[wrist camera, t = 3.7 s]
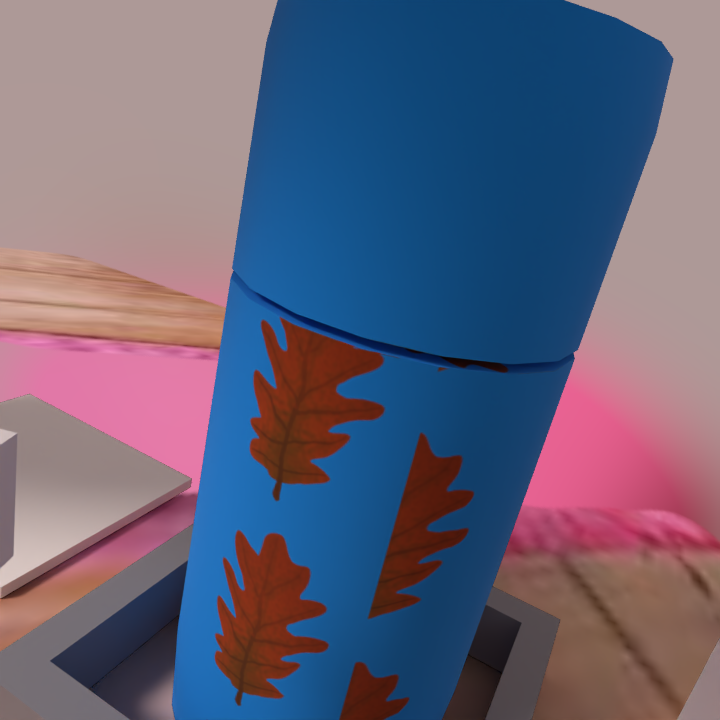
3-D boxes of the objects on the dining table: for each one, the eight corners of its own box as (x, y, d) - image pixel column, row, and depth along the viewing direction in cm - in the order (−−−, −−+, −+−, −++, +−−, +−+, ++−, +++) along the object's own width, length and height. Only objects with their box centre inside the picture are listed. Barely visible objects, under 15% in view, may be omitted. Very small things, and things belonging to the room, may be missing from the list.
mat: (-184, 467, 32) (-185, 457, 32) (29, 401, 42) (29, 393, 42) (0, 598, 27) (0, 587, 27) (190, 487, 37) (191, 478, 37)
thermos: (291, 568, 33) (407, 45, 24) (474, 695, 28) (703, 92, 19) (106, 695, 24) (186, -58, 15) (326, 915, 19) (628, -23, 10)
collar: (-24, 732, 22) (-23, 666, 21) (258, 519, 36) (266, 474, 35) (410, 1097, 16) (442, 1030, 15) (540, 668, 30) (560, 619, 29)
